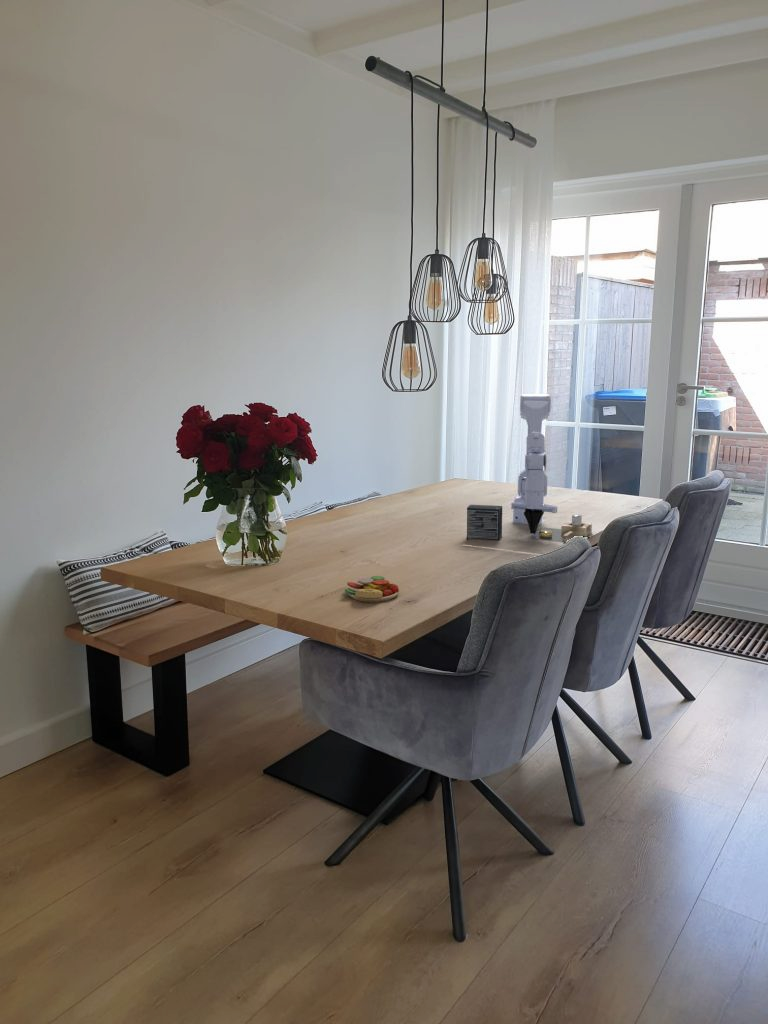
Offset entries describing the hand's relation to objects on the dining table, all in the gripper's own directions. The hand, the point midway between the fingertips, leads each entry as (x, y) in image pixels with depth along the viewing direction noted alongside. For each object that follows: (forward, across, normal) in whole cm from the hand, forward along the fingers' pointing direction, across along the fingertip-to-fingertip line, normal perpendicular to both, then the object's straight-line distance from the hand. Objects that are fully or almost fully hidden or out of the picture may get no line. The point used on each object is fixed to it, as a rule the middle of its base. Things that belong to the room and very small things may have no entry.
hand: (533, 533), depth 260 cm
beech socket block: (+1, +11, +10) cm, 15 cm away
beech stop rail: (+1, +11, 0) cm, 11 cm away
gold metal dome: (+1, +4, 0) cm, 4 cm away
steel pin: (+1, +11, +9) cm, 14 cm away
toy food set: (+2, -14, -77) cm, 78 cm away
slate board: (+1, +7, +5) cm, 8 cm away
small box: (+2, -13, -9) cm, 16 cm away
